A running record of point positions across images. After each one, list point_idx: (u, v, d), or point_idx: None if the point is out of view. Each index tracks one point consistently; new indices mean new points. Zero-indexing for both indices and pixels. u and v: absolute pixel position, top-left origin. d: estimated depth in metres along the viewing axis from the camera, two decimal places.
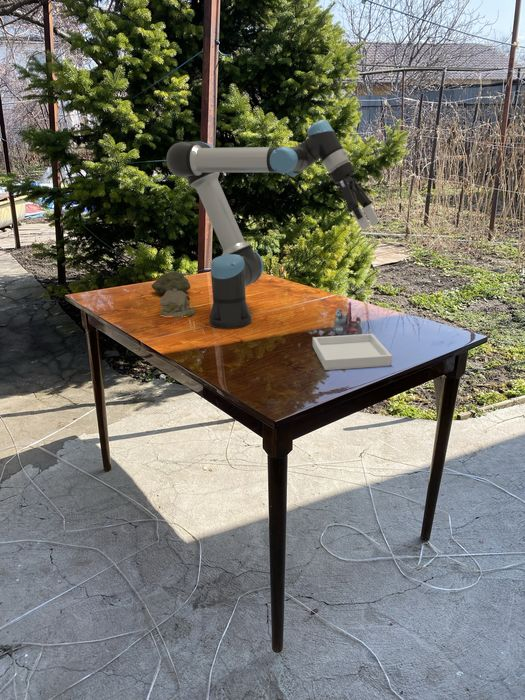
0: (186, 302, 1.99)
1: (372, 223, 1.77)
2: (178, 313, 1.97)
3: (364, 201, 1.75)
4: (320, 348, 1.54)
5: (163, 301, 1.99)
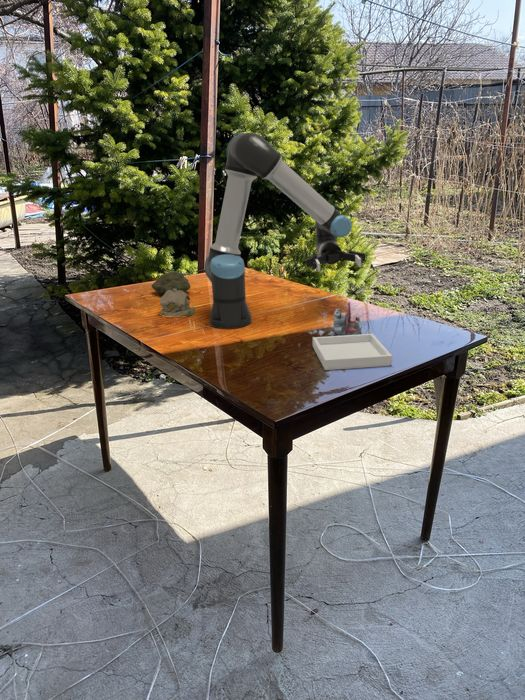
0: (186, 302, 1.99)
1: (319, 264, 1.75)
2: (178, 313, 1.97)
3: None
4: (320, 348, 1.54)
5: (163, 301, 1.99)
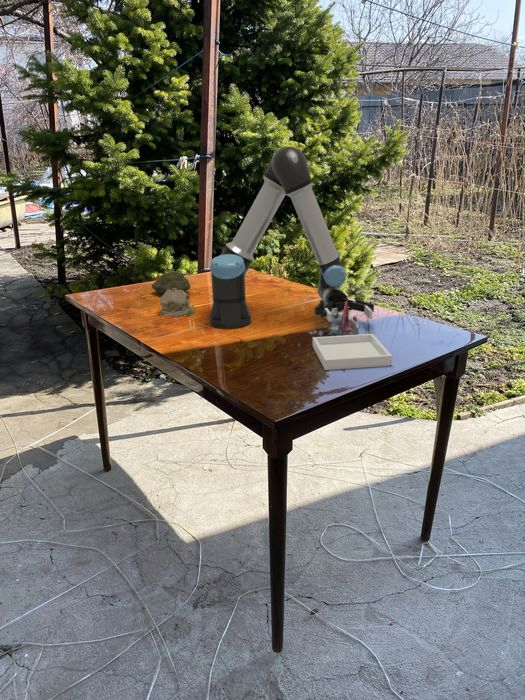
0: (186, 301, 2.00)
1: None
2: (179, 312, 1.98)
3: None
4: (320, 348, 1.54)
5: (163, 300, 1.99)
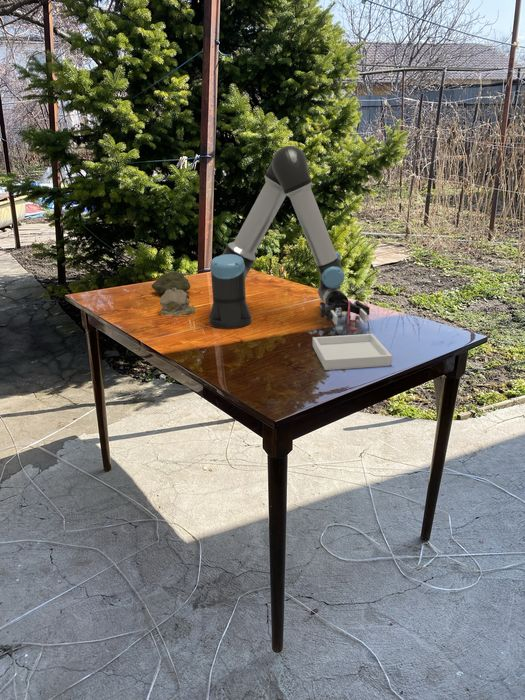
0: (186, 301, 2.00)
1: None
2: (179, 312, 1.98)
3: None
4: (320, 348, 1.54)
5: (163, 300, 2.00)
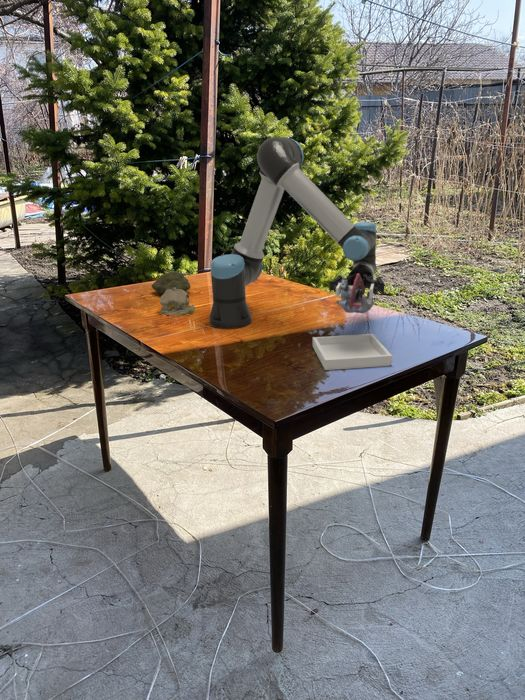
0: (186, 300, 2.01)
1: (338, 289, 1.53)
2: (179, 311, 1.99)
3: None
4: (320, 348, 1.54)
5: (163, 300, 2.00)
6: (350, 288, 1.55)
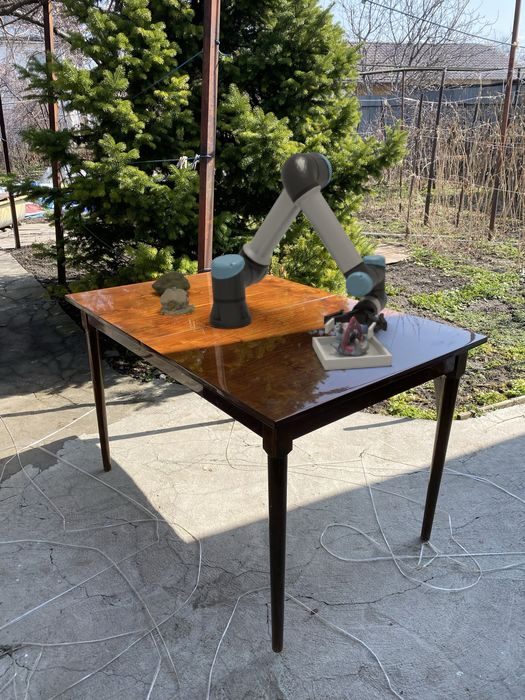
0: (186, 300, 2.02)
1: (328, 325, 1.53)
2: (179, 311, 2.00)
3: None
4: (320, 348, 1.54)
5: (163, 300, 2.01)
6: (345, 331, 1.54)
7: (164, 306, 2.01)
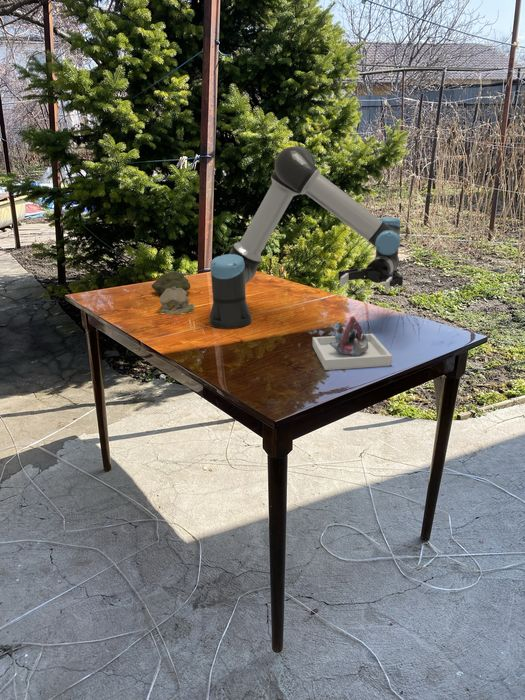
0: (186, 299, 2.03)
1: (343, 278, 1.60)
2: (180, 310, 2.01)
3: (351, 277, 1.67)
4: (320, 348, 1.54)
5: (163, 299, 2.01)
6: (344, 330, 1.54)
7: (164, 306, 2.02)
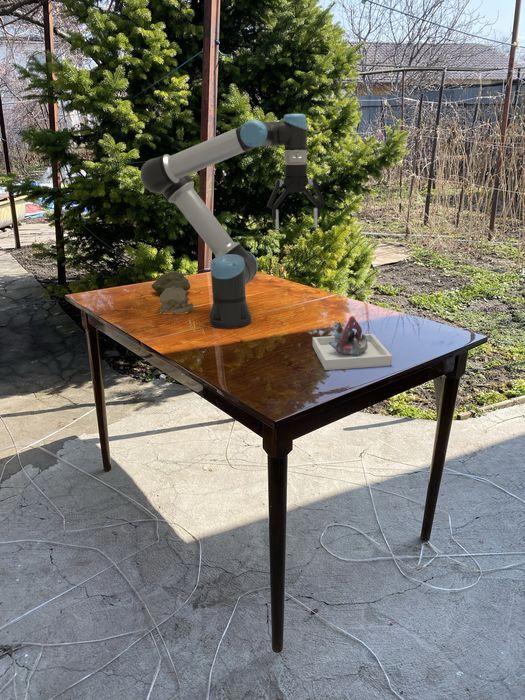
0: (186, 298, 2.03)
1: None
2: (180, 309, 2.02)
3: (313, 203, 1.82)
4: (320, 348, 1.54)
5: (163, 299, 2.02)
6: (343, 330, 1.55)
7: (164, 305, 2.03)
